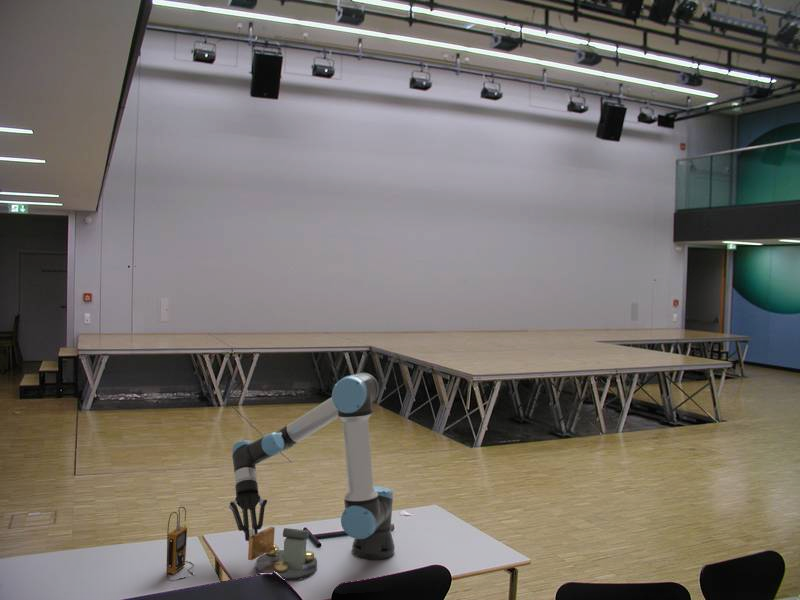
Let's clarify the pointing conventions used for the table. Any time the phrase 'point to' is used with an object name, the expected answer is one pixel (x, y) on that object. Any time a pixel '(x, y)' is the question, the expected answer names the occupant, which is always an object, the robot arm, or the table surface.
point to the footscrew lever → (263, 544)
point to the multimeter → (176, 547)
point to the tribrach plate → (291, 573)
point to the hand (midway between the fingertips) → (252, 549)
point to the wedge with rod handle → (295, 547)
